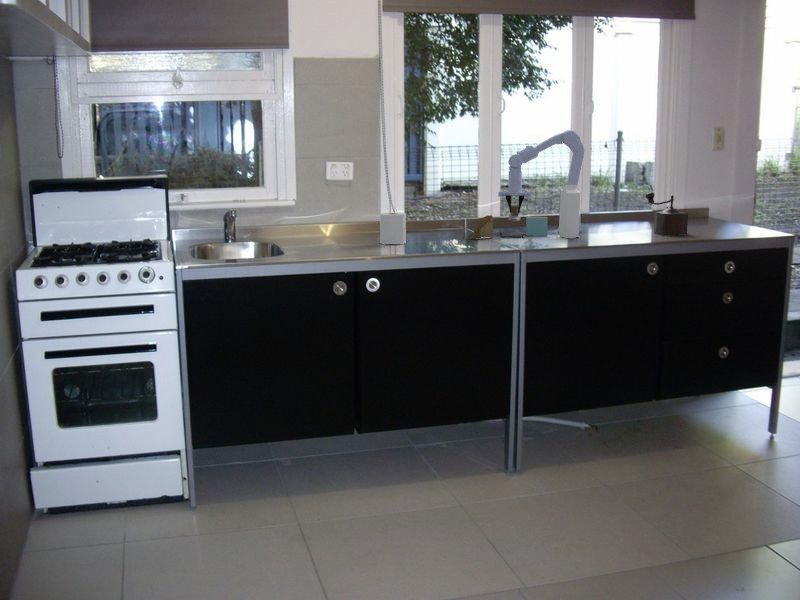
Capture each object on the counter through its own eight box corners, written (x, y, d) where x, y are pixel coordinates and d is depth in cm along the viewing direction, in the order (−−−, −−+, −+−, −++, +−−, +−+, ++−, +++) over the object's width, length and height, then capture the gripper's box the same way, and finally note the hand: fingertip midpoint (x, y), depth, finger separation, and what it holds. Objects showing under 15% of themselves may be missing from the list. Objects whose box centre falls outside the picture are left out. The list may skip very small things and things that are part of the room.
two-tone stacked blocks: (520, 215, 389) (520, 204, 387) (519, 220, 377) (520, 209, 376) (509, 215, 389) (509, 204, 388) (508, 220, 378) (508, 209, 377)
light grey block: (376, 244, 350) (375, 214, 347) (387, 241, 359) (386, 212, 357) (399, 245, 346) (398, 215, 343) (409, 242, 355) (409, 212, 353)
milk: (559, 237, 368) (560, 184, 363) (571, 236, 370) (572, 184, 365) (566, 238, 362) (567, 185, 358) (579, 237, 364) (580, 185, 360)
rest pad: (523, 234, 377) (523, 232, 377) (523, 238, 365) (523, 235, 365) (502, 234, 378) (502, 232, 378) (501, 237, 367) (501, 235, 366)
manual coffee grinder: (673, 232, 381) (675, 190, 378) (687, 234, 371) (690, 192, 367) (641, 233, 377) (643, 191, 374) (655, 236, 367) (657, 193, 363)
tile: (547, 235, 373) (547, 217, 371) (547, 236, 371) (547, 217, 369) (525, 235, 374) (526, 216, 373) (525, 236, 372) (526, 217, 371)
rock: (473, 235, 358) (497, 231, 359) (468, 217, 362) (492, 213, 362) (471, 247, 368) (494, 244, 369) (466, 230, 371) (489, 226, 372)
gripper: (498, 182, 381) (497, 213, 384) (531, 182, 379) (531, 213, 382) (498, 181, 388) (498, 212, 391) (531, 181, 386) (531, 212, 388)
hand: (514, 212), depth 387 cm, fingers closed on two-tone stacked blocks, 3 cm apart
